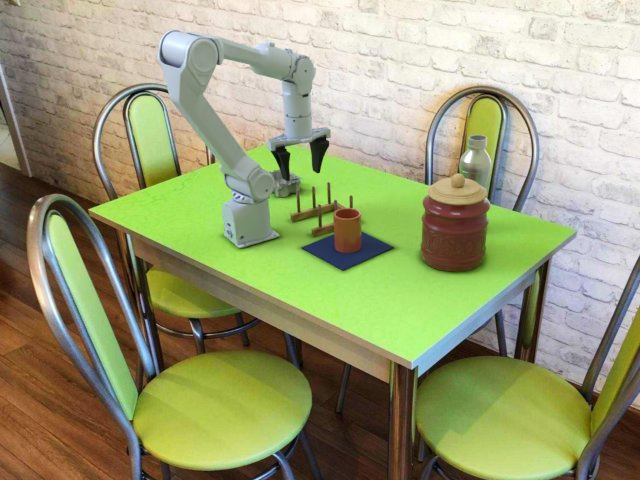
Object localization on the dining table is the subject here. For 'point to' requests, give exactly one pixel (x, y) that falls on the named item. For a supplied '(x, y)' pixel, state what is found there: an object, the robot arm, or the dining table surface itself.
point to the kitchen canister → (454, 224)
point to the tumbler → (347, 230)
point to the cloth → (347, 260)
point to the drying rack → (318, 211)
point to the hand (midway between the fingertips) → (301, 175)
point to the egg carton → (285, 184)
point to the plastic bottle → (476, 160)
